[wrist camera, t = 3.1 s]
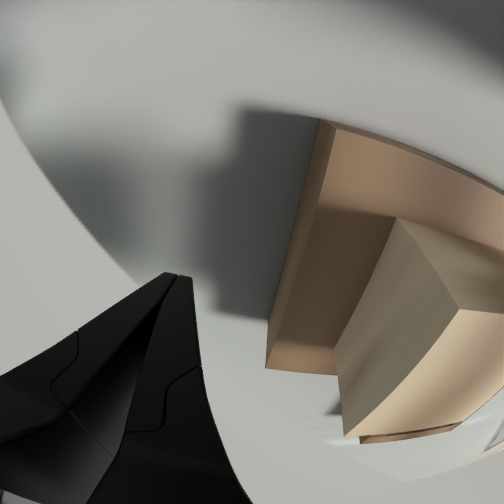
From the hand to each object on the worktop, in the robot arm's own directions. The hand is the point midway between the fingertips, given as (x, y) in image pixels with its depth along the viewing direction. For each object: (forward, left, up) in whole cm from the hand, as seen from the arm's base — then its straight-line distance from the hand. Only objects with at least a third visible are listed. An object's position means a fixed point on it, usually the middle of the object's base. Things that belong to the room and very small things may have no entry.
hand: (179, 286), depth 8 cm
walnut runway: (-20, +5, -4) cm, 21 cm away
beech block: (-9, 0, -1) cm, 9 cm away
